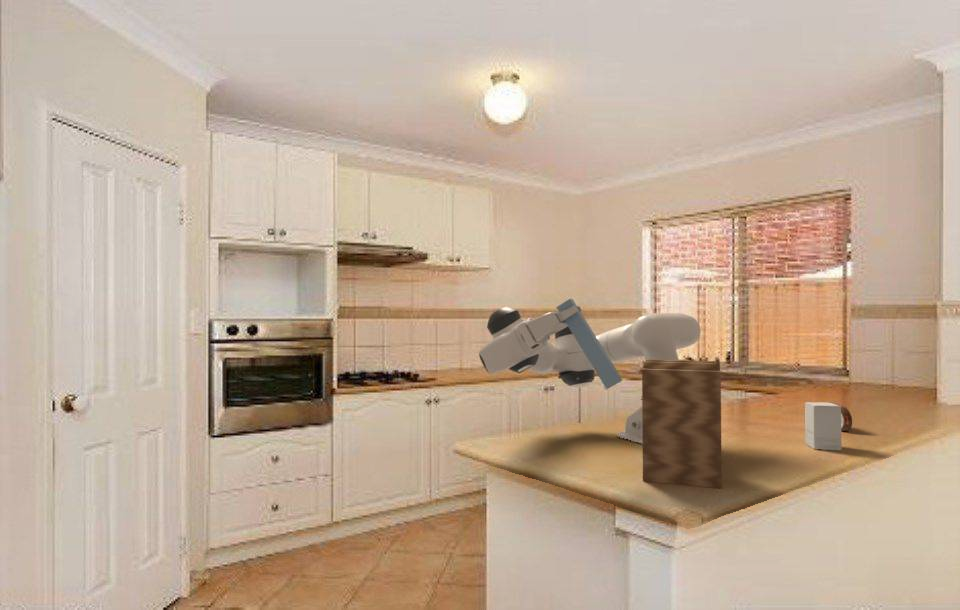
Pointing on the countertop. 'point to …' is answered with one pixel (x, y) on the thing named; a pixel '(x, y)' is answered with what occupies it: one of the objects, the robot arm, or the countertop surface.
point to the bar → (591, 346)
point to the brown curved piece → (845, 418)
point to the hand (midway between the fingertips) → (578, 308)
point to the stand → (682, 422)
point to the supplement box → (823, 425)
